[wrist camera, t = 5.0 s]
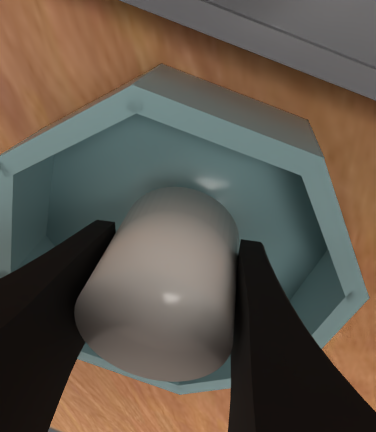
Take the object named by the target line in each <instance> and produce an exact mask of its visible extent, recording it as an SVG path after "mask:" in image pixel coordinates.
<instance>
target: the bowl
mask: <svg viewBox="0 0 376 432" xmlns="http://www.w3.org/2000/svg"><path fill="white" fill-rule="evenodd" d="M165 187H185V188H190V189H194V190H197V191H200V192H203V193H205V194H207V195H209V196H211V197H212V198H214V199H215V200H217V201H218V202H219V203H221V204H222V205H223V206H224V207H225V208H226V209H227V210H228V212H229V213H230V214H231V216H232V217H233V219H234V221H235V223H236V226H237V228H238V232H239V247H240V241H241V239H244V240H251V241H258V242H261V243H262V244H263V245H264V248H265V251H266V254H267V256H268V259H269V261H270V264H271V266H272V268H273V270H274V272H275V275H276V277H277V279H278V281H279V283H280V284H281V286H282V288H283V290H284V292H285V294H286V296H287V298H288V299H289V301H290V303H291V305H292V306H293V308H294V309H295V311H296V313H297V314H298V316H299V318H300V319H301V321H302V322H303V324H304V325H305V327H306V328H307V330H308V331H309V333H310V334H311V336H312V337H313V338H314V340H315V341H316V342H317V344H318V345H319V347H320V348H321V349H322V348H323V347H324V346H325V345H326V344H327V343H328V341H329V340H330V339H331V338H332V337H333V336H334V335H335V334H336V333H337V332H338V331H339V330H340V329H341V328H342V327H343V326H344V324H345V323H346V322H347V321H348V320H349V319H350V318H351V317H352V316H353V315H354V314H355V313H356V312H357V311H358V310H359V309H360V307H361V306H362V305H363V304H364V303H365V302H366V301H367V300H368V299H369V295H368V292H367V290H366V287H365V284H364V281H363V278H362V275H361V272H360V268H359V265H358V262H357V259H356V256H355V253H354V250H353V247H352V244H351V241H350V238H349V234H348V231H347V228H346V225H345V222H344V219H343V216H342V213H341V210H340V207H339V204H338V200H337V197H336V194H335V191H334V188H333V185H332V182H331V179H330V176H329V173H328V170H327V166H326V163H325V160H324V156H323V153H322V151H321V149H320V146H319V144H318V142H317V139H316V137H315V135H314V132H313V130H312V128H311V126H310V123H309V121H308V120H307V119H304V118H301V117H299V116H296V115H294V114H291V113H289V112H286V111H283V110H281V109H278V108H276V107H273V106H270V105H268V104H265V103H263V102H260V101H257V100H255V99H252V98H250V97H247V96H244V95H242V94H239V93H237V92H234V91H231V90H229V89H226V88H224V87H221V86H219V85H216V84H213V83H211V82H208V81H206V80H203V79H200V78H198V77H195V76H193V75H190V74H187V73H185V72H182V71H180V70H177V69H174V68H172V67H169V66H167V65H164V64H163V63H162V64H160V65H158V66H157V67H155V68H153V69H151V70H149V71H148V72H146V73H144V74H142V75H140V76H138V77H137V78H135V79H133V80H131V81H129V82H127V83H126V84H124V85H122V86H120V87H118V88H116V89H115V90H113V91H111V92H109V93H107V94H105V95H104V96H102V97H100V98H98V99H96V100H94V101H93V102H91V103H89V104H87V105H85V106H83V107H82V108H80V109H78V110H76V111H74V112H72V113H71V114H69V115H67V116H65V117H63V118H61V119H60V120H58V121H56V122H54V123H52V124H50V125H49V126H46V127H44V128H43V129H41V130H39V131H38V132H36V133H35V134H33V135H31V136H30V137H28V138H27V139H25V140H23V141H22V142H20V143H18V144H17V145H15V146H14V147H12V148H10V149H9V150H7V151H5V152H4V153H2V154H1V155H0V278H2V277H4V276H6V275H8V274H10V273H12V272H13V271H15V270H17V269H19V268H21V267H22V266H24V265H26V264H27V263H29V262H31V261H32V260H34V259H36V258H38V257H39V256H41V255H43V254H44V253H46V252H48V251H49V250H51V249H52V248H54V247H55V246H57V245H58V244H60V243H62V242H63V241H65V240H66V239H68V238H69V237H71V236H72V235H74V234H75V233H77V232H78V231H80V230H81V229H83V228H84V227H86V226H87V225H89V224H91V223H92V222H94V221H96V220H104V221H111V222H115V228H116V232H117V230H118V228H119V227H120V225H121V223H122V222H123V220H124V218H125V217H126V215H127V213H128V212H129V210H130V208H131V207H132V205H133V204H134V203H135V202H136V201H137V200H138V199H139V198H140V197H142V196H143V195H145V194H147V193H149V192H151V191H153V190H156V189H159V188H165ZM77 359H79V360H82V361H85V362H88V363H90V364H93V365H96V366H99V367H102V368H105V369H108V370H111V371H113V372H116V373H119V374H122V375H125V376H128V377H131V378H133V379H136V380H139V381H142V382H145V383H148V384H151V385H154V386H156V387H159V388H162V389H165V390H168V391H171V392H174V393H176V394H179V395H181V394H189V393H196V392H204V391H212V390H220V389H228V388H231V354H230V355H229V357H228V359H227V360H226V362H225V363H224V364H223V365H222V366H221V367H220V368H219V369H218V370H216V371H214V372H213V373H211V374H209V375H207V376H204V377H201V378H198V379H194V380H189V381H180V382H168V381H158V380H151V379H147V378H143V377H139V376H136V375H133V374H131V373H128V372H125V371H123V370H121V369H119V368H117V367H115V366H114V365H112V364H110V363H108V362H107V361H106V360H104V359H103V358H101V357H100V356H99V355H98V354H96V353H95V352H94V351H93V350H92V349H91V348H90V347H89V346H88V344H87V343H86V342H85V344H84V346H83V348H82V350H81V352H80V354H79V356H78V358H77Z"/></svg>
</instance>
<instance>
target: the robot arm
mask: <svg viewBox="0 0 376 432" xmlns="http://www.w3.org/2000/svg"><path fill="white" fill-rule="evenodd" d="M115 234H116V228H115V222H111V221H104V220H96V221H94V222H92V223H91V224H89V225H87V226H86V227H84V228H83V229H81V230H80V231H78V232H77V233H75V234H74V235H72V236H71V237H69V238H68V239H66V240H65V241H63V242H62V243H60V244H58V245H57V246H55V247H54V248H52V249H51V250H49V251H48V252H46V253H44V254H43V255H41V256H39V257H38V258H36V259H34V260H32V261H31V262H29V263H27V264H26V265H24V266H22V267H21V268H19V269H17V270H15V271H13V272H12V273H10V274H8V275H6V276H4V277H2V278H0V432H48V429H49V427H50V424H51V421H52V419H53V416H54V414H55V411H56V408H57V406H58V403H59V400H60V398H61V395H62V393H63V391H64V388H65V386H66V383H67V381H68V378H69V376H70V373H71V371H72V369H73V366H74V364H75V362H76V360H77V358H78V356H79V354H80V352H81V350H82V348H83V346H84V344H85V341H84V339H83V338H82V336H81V334H80V333H79V330H78V328H77V325H76V322H75V316H74V310H75V304H76V301H77V298H78V297H79V295H80V293H81V291H82V290H83V288H84V286H85V285H86V283H87V281H88V279H89V278H90V276H91V274H92V273H93V271H94V269H95V268H96V266H97V264H98V262H99V261H100V259H101V257H102V256H103V254H104V252H105V251H106V249H107V247H108V245H109V244H110V242H111V240H112V239H113V237H114V235H115ZM228 432H376V412H375V411H374V410H373V409H372V407H371V406H370V405H369V404H368V403H367V402H366V401H365V400H364V399H363V398H362V397H361V396H360V395H359V393H358V392H357V391H356V390H355V389H354V388H353V387H352V385H351V384H350V383H349V382H348V381H347V380H346V379H345V377H344V376H343V375H342V374H341V373H340V372H339V371H338V369H337V368H336V367H335V366H334V365H333V363H332V362H331V361H330V359H329V358H328V357H327V356H326V354H325V353H324V352H323V350H322V349H321V348H320V347H319V345H318V344H317V342H316V341H315V340H314V338H313V337H312V336H311V334H310V333H309V331H308V330H307V328H306V327H305V325H304V324H303V322H302V321H301V319H300V318H299V316H298V314H297V313H296V311H295V309H294V308H293V306H292V305H291V303H290V301H289V299H288V298H287V296H286V294H285V292H284V290H283V288H282V286H281V284H280V283H279V281H278V279H277V277H276V275H275V272H274V270H273V268H272V266H271V264H270V261H269V259H268V256H267V254H266V251H265V248H264V245H263V244H262V243H261V242H258V241H251V240H244V239H241V241H240V247H239V253H238V265H237V285H236V301H235V317H234V333H233V346H232V350H231V400H230V413H229V426H228Z"/></svg>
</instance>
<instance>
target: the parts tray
mask: <svg viewBox="0 0 376 432" xmlns="http://www.w3.org/2000/svg"><path fill="white" fill-rule="evenodd" d="M120 1H122V2H125V3H128V4H130V5H133V6H135V7H138V8H140V9H143V10H145V11H148V12H151V13H153V14H156V15H158V16H161V17H163V18H166V19H168V20H171V21H174V22H176V23H179V24H181V25H184V26H186V27H189V28H191V29H194V30H197V31H199V32H202V33H204V34H207V35H209V36H212V37H214V38H217V39H220V40H222V41H225V42H227V43H230V44H232V45H235V46H237V47H240V48H243V49H245V50H248V51H250V52H253V53H255V54H258V55H260V56H263V57H266V58H268V59H271V60H273V61H276V62H278V63H281V64H283V65H286V66H289V67H291V68H294V69H296V70H299V71H301V72H304V73H306V74H309V75H312V76H314V77H317V78H319V79H322V80H324V81H327V82H329V83H332V84H335V85H337V86H340V87H342V88H345V89H347V90H350V91H352V92H355V93H358V94H360V95H363V96H365V97H368V98H370V99H373V100H375V101H376V0H120Z"/></svg>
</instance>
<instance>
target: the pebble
mask: <svg viewBox="0 0 376 432" xmlns="http://www.w3.org/2000/svg"><path fill="white" fill-rule="evenodd" d="M238 253H239V232H238V228H237V226H236V223H235V221H234V219H233V217H232V216H231V214H230V213H229V212H228V210H227V209H226V208H225V207H224V206H223V205H222V204H221V203H219V202H218V201H217V200H215V199H214V198H212V197H211V196H209V195H207V194H205V193H203V192H200V191H197V190H194V189H190V188H185V187H165V188H159V189H156V190H153V191H151V192H149V193H147V194H145V195H143V196H142V197H140V198H139V199H138V200H137V201H136V202H135V203H134V204H133V205H132V207H131V208H130V210H129V212H128V213H127V215H126V217H125V218H124V220H123V222H122V223H121V225H120V227H119V228H118V230H117V232H116V234H115V235H114V237H113V239H112V240H111V242H110V244H109V245H108V247H107V249H106V251H105V252H104V254H103V256H102V257H101V259H100V261H99V262H98V264H97V266H96V268H95V269H94V271H93V273H92V274H91V276H90V278H89V279H88V281H87V283H86V285H85V286H84V288H83V290H82V291H81V293H80V295H79V297H78V298H77V301H76V304H75V310H74V316H75V322H76V325H77V328H78V330H79V333H80V334H81V336H82V338H83V339H84V341H85V342H86V343H87V344H88V346H89V347H90V348H91V349H92V350H93V351H94V352H95V353H96V354H98V355H99V356H100V357H101V358H103V359H104V360H106V361H107V362H108V363H110V364H112V365H114V366H115V367H117V368H119V369H121V370H123V371H125V372H128V373H131V374H133V375H136V376H139V377H143V378H147V379H151V380H158V381H168V382H180V381H189V380H194V379H198V378H201V377H204V376H207V375H209V374H211V373H213V372H214V371H216V370H218V369H219V368H220V367H221V366H222V365H223V364H224V363H225V362H226V360H227V359H228V357H229V355H230V354H231V350H232V346H233V333H234V317H235V301H236V285H237V265H238Z"/></svg>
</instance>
